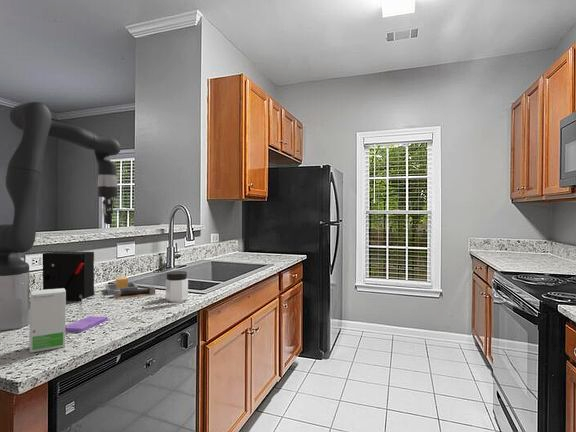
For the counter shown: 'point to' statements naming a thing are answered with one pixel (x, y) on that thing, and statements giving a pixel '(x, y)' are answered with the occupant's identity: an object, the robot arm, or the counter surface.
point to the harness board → (134, 292)
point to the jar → (177, 287)
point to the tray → (112, 287)
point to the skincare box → (47, 319)
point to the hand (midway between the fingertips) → (107, 223)
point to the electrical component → (69, 273)
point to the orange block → (121, 282)
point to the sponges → (84, 324)
